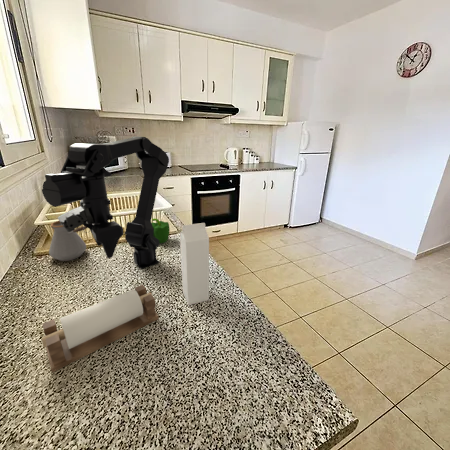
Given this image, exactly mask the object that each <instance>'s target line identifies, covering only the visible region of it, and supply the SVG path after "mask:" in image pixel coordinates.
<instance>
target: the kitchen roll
mask: <svg viewBox="0 0 450 450" xmlns="http://www.w3.org/2000/svg"><path fill="white" fill-rule="evenodd" d="M146 293H147V294H145V295H142V296H140V297H139V295H138V293H137V292H136V290H135V288H134V289H130V290H128V291H126V292H124V293H120V294H117V295H115V296H113V297H111V298H107V299H106V300H102V301H100V302H97V303H95V304H92V305H90V306H88V307H85V308H83V309H80V310H77V311H74V312H72V313H70V314H67V315H65V316H62V317H59V321H60V324H61V329H60V330H57V331H56V332H54V333H52V334H49V335H47V336H43V337H41V342H42V345H43V348H44V349H46V348H47V344H46V340H45V339H47V338H49V337H52V336H54V335H56V334H58V335H59V339H60V341H61V340H64V339H66V341H67V344H68V348H69V349H71V348H73V347H75V346H77V345H79V344H81V343H83V342H86V341H88V340H90V339H92V338H94V337H96V336H98V335H100V334H103V333H105V332H107V331H109V330H111V329H113V328H115V327H117V326H119V325H122V324H124V323H126V322H128V321H130V320H132V319H134V318H136V317H139V316H141V315H143V306H142V304H144V300H143V297H146V296H148V295H150V294H151V295H152V296H153V294H152V292H151V291H150V292H146Z"/></svg>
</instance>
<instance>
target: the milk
mask: <svg viewBox="0 0 450 450" xmlns="http://www.w3.org/2000/svg"><path fill="white" fill-rule="evenodd" d="M181 228H182V229H181V230H182V231H181V232H179V239H180V240H179V242H180V258H181V259H180V260H181V262H180V263H181V280H182V281H181V282H182V283H181V284H182V293H183V296H184V298H185V300H186V303H187V305H188V306H191V305H194V304H198V303H203V302H206V301H209V300H210V237H209V234H208V232H207V229H206V223H205V222H201V223H192V224H185V225H184V224H183V225H182V226H181Z"/></svg>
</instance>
